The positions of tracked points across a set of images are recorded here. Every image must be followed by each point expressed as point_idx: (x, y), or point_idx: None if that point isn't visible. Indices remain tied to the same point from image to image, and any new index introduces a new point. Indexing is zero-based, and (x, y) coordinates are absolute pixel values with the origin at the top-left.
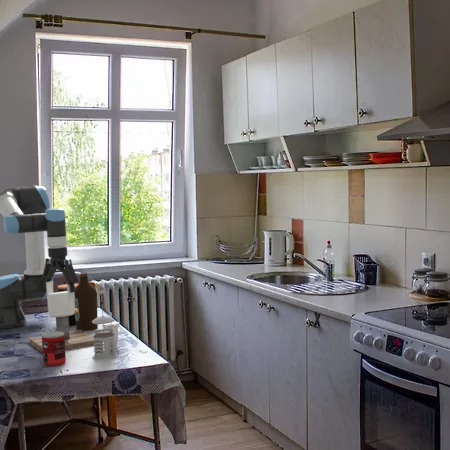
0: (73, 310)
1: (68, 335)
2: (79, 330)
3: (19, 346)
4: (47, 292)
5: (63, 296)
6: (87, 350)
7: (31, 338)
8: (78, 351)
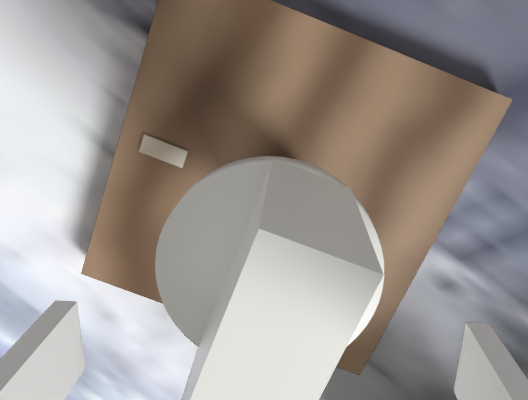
0: (179, 326)
1: None
2: (351, 362)
3: (498, 6)
4: (504, 370)
5: (201, 363)
6: (33, 146)
7: (491, 104)
8: (56, 108)
